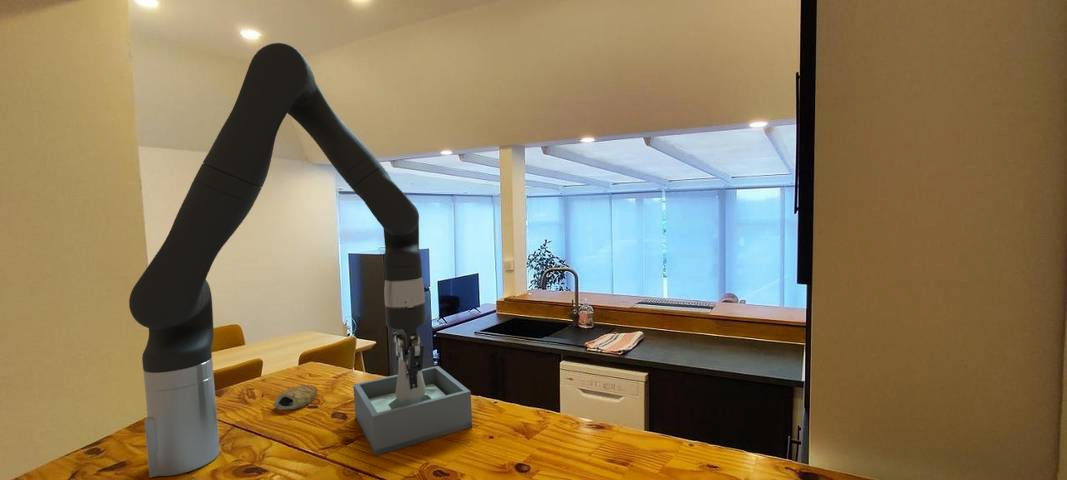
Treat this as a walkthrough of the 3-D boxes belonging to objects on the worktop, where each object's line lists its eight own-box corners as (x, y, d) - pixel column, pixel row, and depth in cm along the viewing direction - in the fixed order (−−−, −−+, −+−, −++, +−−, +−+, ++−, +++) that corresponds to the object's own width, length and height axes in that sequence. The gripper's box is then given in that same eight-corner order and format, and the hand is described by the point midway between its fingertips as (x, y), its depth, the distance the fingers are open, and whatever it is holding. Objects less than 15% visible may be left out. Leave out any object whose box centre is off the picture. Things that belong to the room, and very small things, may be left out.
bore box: (375, 456, 77) (372, 416, 77) (355, 417, 93) (353, 384, 92) (472, 426, 87) (470, 391, 86) (439, 396, 102) (438, 365, 102)
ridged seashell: (299, 393, 107) (298, 377, 107) (326, 394, 106) (325, 378, 106) (271, 410, 98) (270, 393, 98) (299, 412, 97) (298, 394, 97)
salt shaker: (430, 397, 92) (427, 334, 91) (420, 409, 86) (416, 343, 86) (402, 397, 93) (399, 334, 92) (391, 409, 87) (387, 343, 86)
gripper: (376, 298, 92) (382, 381, 93) (395, 310, 80) (400, 405, 81) (413, 294, 96) (417, 373, 97) (435, 304, 84) (440, 394, 85)
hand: (410, 387), depth 89 cm, fingers closed on salt shaker, 3 cm apart
